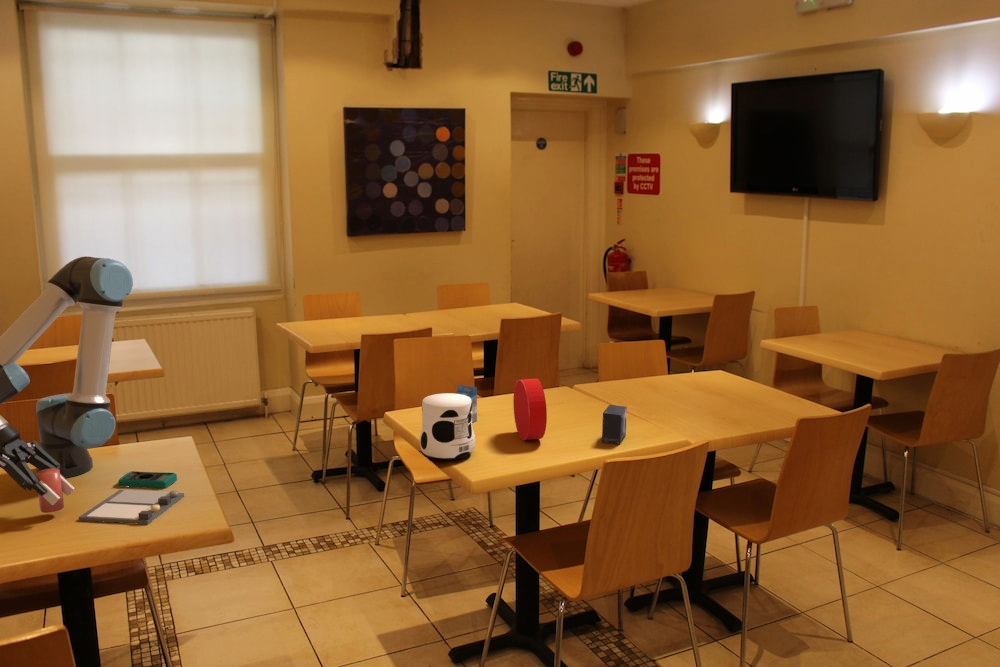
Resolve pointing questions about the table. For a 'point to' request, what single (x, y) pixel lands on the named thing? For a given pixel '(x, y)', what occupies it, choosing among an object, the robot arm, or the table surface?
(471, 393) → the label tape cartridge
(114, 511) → the board
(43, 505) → the pink domed cylinder
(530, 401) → the upright red puck
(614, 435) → the small box
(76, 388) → the robot arm
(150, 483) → the digital multimeter
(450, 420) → the milk container
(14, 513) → the table surface
